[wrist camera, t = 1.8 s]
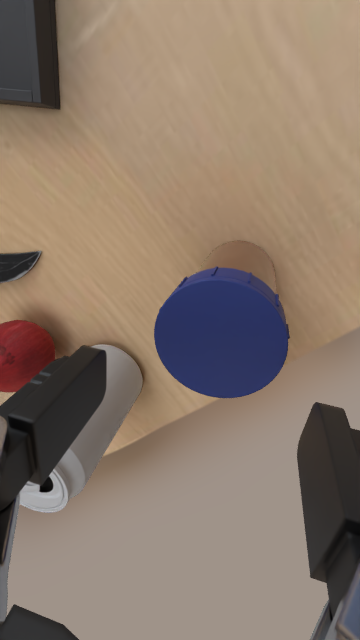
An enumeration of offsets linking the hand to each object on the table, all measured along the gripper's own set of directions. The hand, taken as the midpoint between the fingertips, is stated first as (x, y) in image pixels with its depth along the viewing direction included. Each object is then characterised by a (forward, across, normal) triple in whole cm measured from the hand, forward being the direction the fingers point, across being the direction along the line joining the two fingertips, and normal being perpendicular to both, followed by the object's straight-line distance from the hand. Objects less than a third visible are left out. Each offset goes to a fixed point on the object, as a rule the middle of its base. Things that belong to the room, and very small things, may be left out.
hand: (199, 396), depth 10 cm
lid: (+4, 0, 0) cm, 4 cm away
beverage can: (+14, +9, +11) cm, 20 cm away
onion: (+14, +16, +9) cm, 23 cm away
